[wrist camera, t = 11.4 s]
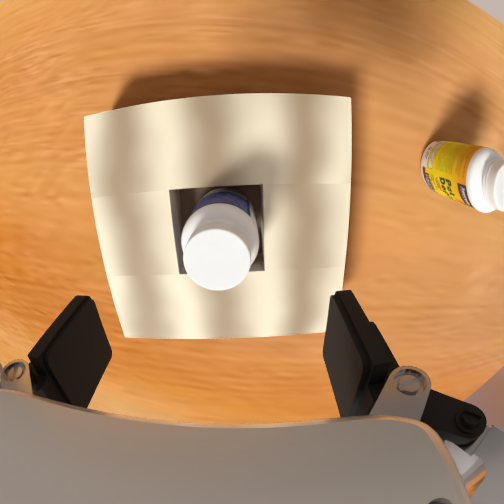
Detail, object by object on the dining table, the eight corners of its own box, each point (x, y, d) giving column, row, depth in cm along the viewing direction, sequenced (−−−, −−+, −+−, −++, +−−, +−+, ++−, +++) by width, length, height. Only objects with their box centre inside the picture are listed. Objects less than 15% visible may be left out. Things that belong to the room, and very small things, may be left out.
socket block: (332, 103, 22) (350, 97, 18) (324, 305, 30) (336, 330, 26) (107, 118, 22) (83, 116, 18) (137, 311, 29) (125, 337, 25)
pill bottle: (183, 206, 24) (154, 244, 16) (236, 175, 24) (232, 198, 15) (214, 256, 26) (203, 312, 18) (266, 229, 25) (278, 276, 17)
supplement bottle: (409, 172, 25) (478, 196, 15) (432, 128, 23) (505, 136, 13) (441, 202, 26) (507, 234, 16) (463, 161, 24) (531, 180, 15)
